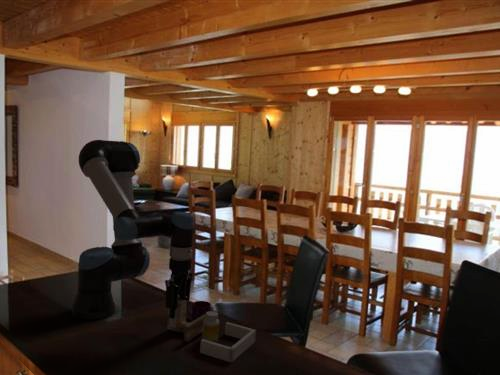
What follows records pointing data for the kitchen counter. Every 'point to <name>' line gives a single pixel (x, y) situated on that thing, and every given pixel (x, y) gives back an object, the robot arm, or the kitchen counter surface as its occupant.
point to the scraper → (183, 326)
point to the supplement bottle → (211, 327)
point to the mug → (199, 309)
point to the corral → (236, 350)
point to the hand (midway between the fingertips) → (176, 324)
